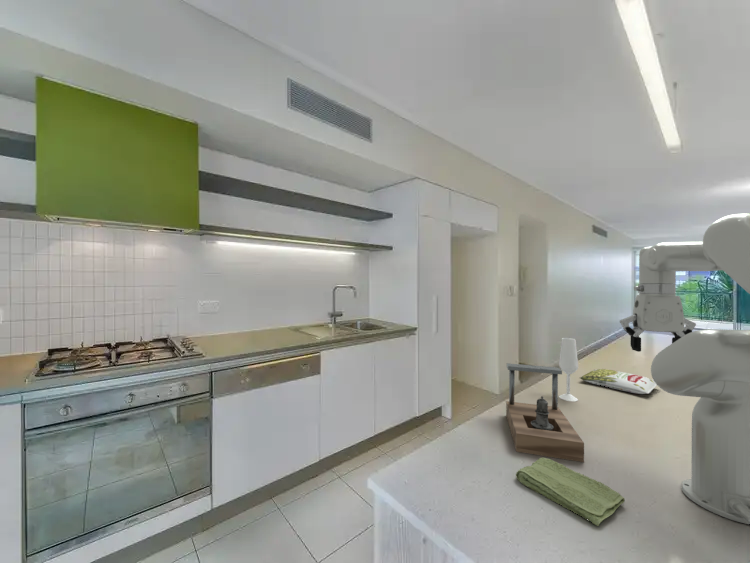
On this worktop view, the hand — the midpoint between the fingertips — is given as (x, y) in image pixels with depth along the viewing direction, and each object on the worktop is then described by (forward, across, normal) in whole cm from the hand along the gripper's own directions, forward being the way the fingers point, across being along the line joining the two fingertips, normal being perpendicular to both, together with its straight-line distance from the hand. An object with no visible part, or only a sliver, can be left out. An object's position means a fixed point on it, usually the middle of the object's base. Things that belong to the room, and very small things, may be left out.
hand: (656, 351), depth 85 cm
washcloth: (+28, -31, -25) cm, 49 cm away
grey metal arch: (+22, -29, +11) cm, 38 cm away
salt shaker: (+27, -30, -2) cm, 40 cm away
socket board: (+27, -30, +1) cm, 40 cm away
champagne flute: (+28, -9, +38) cm, 47 cm away
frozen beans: (+28, +19, +60) cm, 69 cm away
